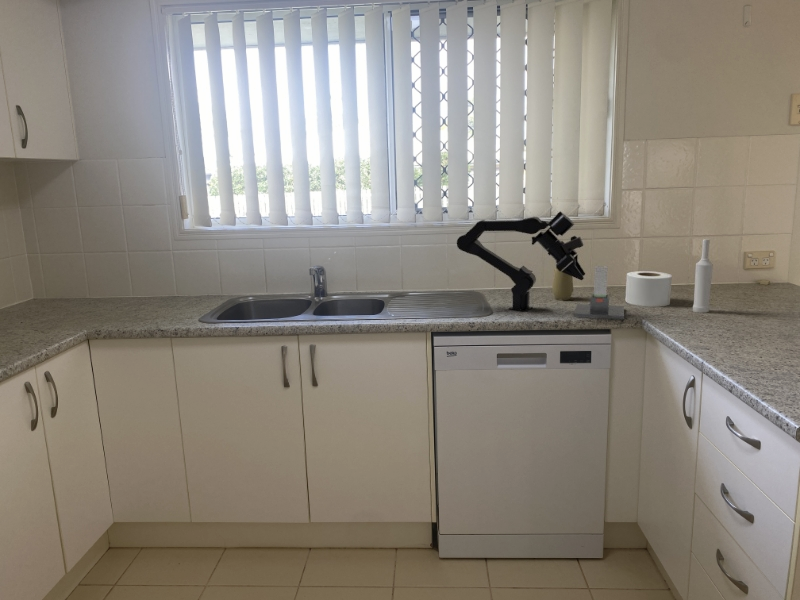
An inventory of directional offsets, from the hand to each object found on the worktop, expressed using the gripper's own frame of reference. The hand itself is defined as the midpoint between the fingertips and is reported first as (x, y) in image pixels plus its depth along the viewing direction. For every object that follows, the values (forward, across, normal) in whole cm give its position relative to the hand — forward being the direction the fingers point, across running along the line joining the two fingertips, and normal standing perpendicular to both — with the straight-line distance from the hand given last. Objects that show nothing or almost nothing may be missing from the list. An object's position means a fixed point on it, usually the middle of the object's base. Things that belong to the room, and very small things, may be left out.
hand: (583, 277), depth 202 cm
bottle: (+36, +10, -19) cm, 42 cm away
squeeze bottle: (+3, +22, +15) cm, 27 cm away
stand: (+13, 0, +5) cm, 14 cm away
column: (+9, 0, +1) cm, 9 cm away
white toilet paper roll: (+25, +22, -7) cm, 34 cm away
